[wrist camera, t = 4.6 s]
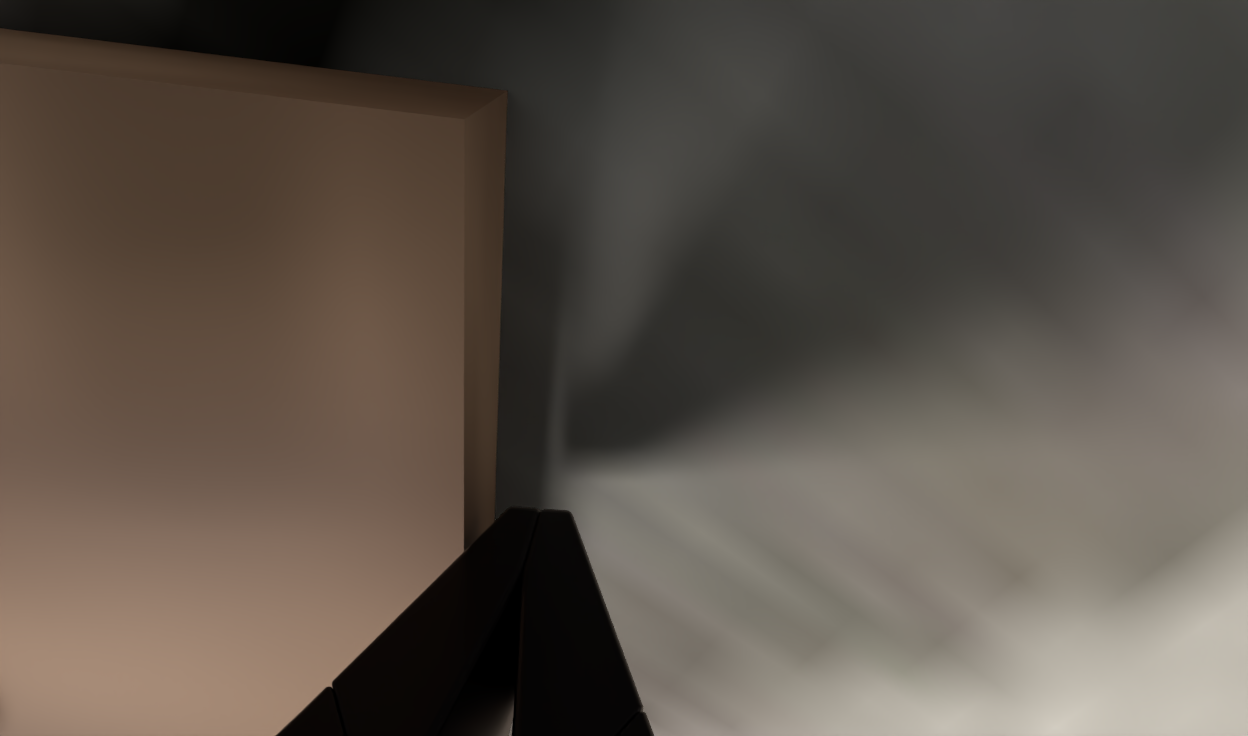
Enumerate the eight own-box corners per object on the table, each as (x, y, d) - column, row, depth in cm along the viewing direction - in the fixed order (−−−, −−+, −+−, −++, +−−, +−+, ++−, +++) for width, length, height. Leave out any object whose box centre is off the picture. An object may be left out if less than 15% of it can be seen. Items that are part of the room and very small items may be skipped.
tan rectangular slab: (495, 663, 13) (463, 801, 11) (112, 623, 13) (-1, 754, 11) (515, 84, 8) (464, 119, 6) (-95, 10, 8) (-379, 16, 6)
